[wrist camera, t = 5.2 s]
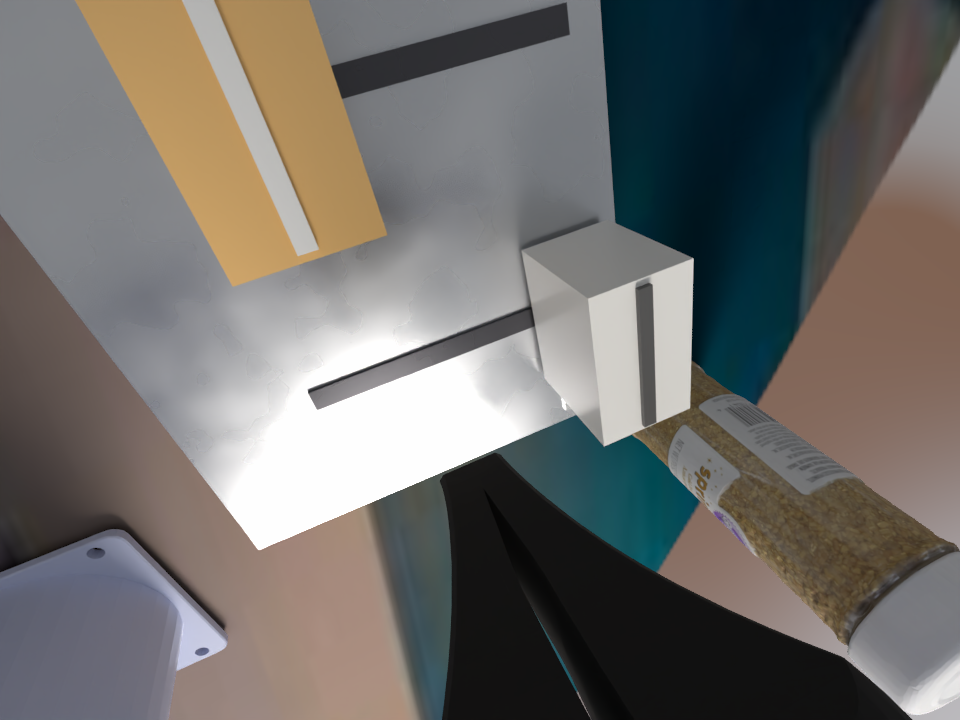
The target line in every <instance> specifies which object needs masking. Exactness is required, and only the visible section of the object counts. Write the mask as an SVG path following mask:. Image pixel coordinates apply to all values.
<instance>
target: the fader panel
mask: <svg viewBox="0 0 960 720" xmlns="http://www.w3.org/2000/svg"><path fill="white" fill-rule="evenodd" d="M309 2H310V5H311V8H312V11H313V14H314V17H315V20H316V23H317V26H318V29H319V32H320V35H321V38H322V41H323V44H324V47H325V50H326V53H327V56H328V59H329V62H330V65H331V68H332V71H333V74H334V77H335V80H336V83H337V86H338V89H339V92H340V95H341V98H342V101H343V104H344V107H345V110H346V113H347V115H348V118H349V121H350V124H351V127H352V130H353V133H354V136H355V139H356V142H357V145H358V148H359V151H360V154H361V157H362V160H363V163H364V166H365V169H366V172H367V175H368V178H369V181H370V184H371V187H372V190H373V193H374V196H375V199H376V202H377V205H378V208H379V211H380V214H381V217H382V220H383V223H384V226H385V229H386V232H387V235H386V236H383V237H380V238H377V239H374V240H371V241H368V242H365V243H362V244H360V245H357V246H354V247H351V248H348V249H345V250H342V251H339V252H336V253H333V254H330V255H327V256H324V257H321V258H318V259H315V260H312V261H309V262H306V263H303V264H300V265H297V266H294V267H291V268H288V269H285V270H282V271H279V272H276V273H273V274H270V275H267V276H264V277H261V278H258V279H255V280H252V281H249V282H246V283H243V284H240V285H237V286H234V287H233V286H232V284H231V283H230V281H229V279H228V277H227V275H226V274H225V272H224V270H223V268H222V266H221V265H220V263H219V261H218V259H217V257H216V255H215V254H214V252H213V250H212V248H211V246H210V245H209V243H208V241H207V239H206V237H205V235H204V234H203V232H202V230H201V228H200V226H199V225H198V223H197V221H196V219H195V217H194V216H193V214H192V212H191V210H190V208H189V206H188V205H187V203H186V201H185V199H184V197H183V196H182V194H181V192H180V190H179V188H178V186H177V185H176V183H175V181H174V179H173V177H172V176H171V174H170V172H169V170H168V168H167V166H166V165H165V163H164V161H163V159H162V157H161V156H160V154H159V152H158V150H157V148H156V147H155V145H154V143H153V141H152V139H151V137H150V136H149V134H148V132H147V130H146V128H145V127H144V125H143V123H142V121H141V119H140V117H139V116H138V114H137V112H136V110H135V108H134V107H133V105H132V103H131V101H130V99H129V98H128V96H127V94H126V92H125V90H124V88H123V87H122V85H121V83H120V81H119V79H118V78H117V76H116V74H115V72H114V70H113V68H112V67H111V65H110V63H109V61H108V59H107V58H106V56H105V54H104V52H103V50H102V48H101V47H100V45H99V43H98V41H97V39H96V38H95V36H94V34H93V32H92V30H91V29H90V27H89V25H88V23H87V21H86V19H85V18H84V16H83V14H82V12H81V10H80V9H79V7H78V5H77V3H76V1H75V0H0V215H1V216H2V217H3V219H4V220H5V221H6V222H7V224H8V225H9V226H10V228H11V229H12V230H13V232H14V233H15V234H16V235H17V237H18V238H19V239H20V241H21V242H22V243H23V244H24V246H25V247H26V248H27V250H28V251H29V252H30V254H31V255H32V256H33V257H34V259H35V260H36V261H37V263H38V264H39V265H40V267H41V268H42V269H43V270H44V272H45V273H46V274H47V276H48V277H49V278H50V279H51V281H52V282H53V283H54V285H55V286H56V287H57V289H58V290H59V291H60V292H61V294H62V295H63V296H64V298H65V299H66V300H67V302H68V303H69V304H70V305H71V307H72V308H73V309H74V311H75V312H76V313H77V314H78V316H79V317H80V318H81V320H82V321H83V322H84V324H85V325H86V326H87V327H88V329H89V330H90V331H91V333H92V334H93V335H94V337H95V338H96V339H97V340H98V342H99V343H100V344H101V346H102V347H103V348H104V350H105V351H106V352H107V353H108V355H109V356H110V357H111V359H112V360H113V361H114V362H115V364H116V365H117V366H118V368H119V369H120V370H121V372H122V373H123V374H124V375H125V377H126V378H127V379H128V381H129V382H130V383H131V385H132V386H133V387H134V388H135V390H136V391H137V392H138V394H139V395H140V396H141V397H142V399H143V400H144V401H145V403H146V404H147V405H148V407H149V408H150V409H151V410H152V412H153V413H154V414H155V416H156V417H157V418H158V420H159V421H160V422H161V423H162V425H163V426H164V427H165V429H166V430H167V431H168V432H169V434H170V435H171V436H172V438H173V439H174V440H175V442H176V443H177V444H178V445H179V447H180V448H181V449H182V451H183V452H184V453H185V455H186V456H187V457H188V458H189V460H190V461H191V462H192V464H193V465H194V466H195V468H196V469H197V470H198V471H199V473H200V474H201V475H202V477H203V478H204V479H205V480H206V482H207V483H208V484H209V486H210V487H211V488H212V490H213V491H214V492H215V493H216V495H217V496H218V497H219V499H220V500H221V501H222V503H223V504H224V505H225V506H226V508H227V509H228V510H229V512H230V513H231V514H232V515H233V517H234V518H235V519H236V521H237V522H238V523H239V525H240V526H241V527H242V528H243V530H244V531H245V532H246V534H247V535H248V536H249V538H250V539H251V540H252V541H253V543H254V544H255V545H256V547H257V548H258V549H259V550H260V549H262V548H264V547H267V546H269V545H271V544H274V543H276V542H278V541H281V540H283V539H285V538H288V537H290V536H293V535H295V534H297V533H300V532H302V531H304V530H307V529H309V528H311V527H314V526H316V525H318V524H321V523H323V522H325V521H328V520H330V519H332V518H335V517H337V516H339V515H342V514H344V513H346V512H349V511H351V510H354V509H356V508H358V507H361V506H363V505H365V504H368V503H370V502H372V501H375V500H377V499H379V498H382V497H384V496H386V495H389V494H391V493H393V492H396V491H398V490H400V489H403V488H405V487H408V486H410V485H412V484H415V483H417V482H419V481H422V480H424V479H426V478H429V477H431V476H433V475H436V474H438V473H440V472H443V471H445V470H447V469H450V468H452V467H454V466H457V465H459V464H461V463H464V462H466V461H469V460H471V459H473V458H476V457H478V456H480V455H483V454H485V453H487V452H490V451H492V450H494V449H497V448H499V447H501V446H504V445H506V444H508V443H511V442H513V441H515V440H518V439H520V438H522V437H525V436H527V435H530V434H532V433H534V432H537V431H539V430H541V429H544V428H546V427H548V426H551V425H553V424H555V423H558V422H560V421H562V420H565V419H567V418H569V417H572V416H574V415H576V414H575V412H574V411H573V410H572V409H571V408H570V407H569V406H568V404H567V403H566V402H565V401H564V400H563V399H562V398H561V396H560V395H559V394H558V393H557V392H556V391H555V390H554V388H553V387H552V386H551V385H550V384H549V383H548V382H547V380H546V379H545V377H544V371H543V366H542V360H541V355H540V349H539V344H538V338H537V333H536V327H535V322H534V316H533V311H532V305H531V300H530V294H529V289H528V283H527V278H526V273H525V267H524V262H523V256H522V251H521V250H524V249H527V248H529V247H532V246H535V245H538V244H541V243H543V242H546V241H549V240H552V239H555V238H557V237H560V236H563V235H566V234H569V233H571V232H574V231H577V230H580V229H583V228H585V227H588V226H591V225H594V224H597V223H599V222H602V221H605V220H609V221H611V222H614V223H615V212H614V198H613V183H612V169H611V154H610V139H609V125H608V110H607V95H606V81H605V66H604V52H603V37H602V22H601V8H600V0H309Z"/></svg>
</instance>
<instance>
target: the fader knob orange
mask: <svg viewBox="0 0 960 720" xmlns="http://www.w3.org/2000/svg"><path fill="white" fill-rule="evenodd" d="M75 1H76V3H77V5H78V7H79V9H80V10H81V12H82V14H83V16H84V18H85V19H86V21H87V23H88V25H89V27H90V29H91V30H92V32H93V34H94V36H95V38H96V39H97V41H98V43H99V45H100V47H101V48H102V50H103V52H104V54H105V56H106V58H107V59H108V61H109V63H110V65H111V67H112V68H113V70H114V72H115V74H116V76H117V78H118V79H119V81H120V83H121V85H122V87H123V88H124V90H125V92H126V94H127V96H128V98H129V99H130V101H131V103H132V105H133V107H134V108H135V110H136V112H137V114H138V116H139V117H140V119H141V121H142V123H143V125H144V127H145V128H146V130H147V132H148V134H149V136H150V137H151V139H152V141H153V143H154V145H155V147H156V148H157V150H158V152H159V154H160V156H161V157H162V159H163V161H164V163H165V165H166V166H167V168H168V170H169V172H170V174H171V176H172V177H173V179H174V181H175V183H176V185H177V186H178V188H179V190H180V192H181V194H182V196H183V197H184V199H185V201H186V203H187V205H188V206H189V208H190V210H191V212H192V214H193V216H194V217H195V219H196V221H197V223H198V225H199V226H200V228H201V230H202V232H203V234H204V235H205V237H206V239H207V241H208V243H209V245H210V246H211V248H212V250H213V252H214V254H215V255H216V257H217V259H218V261H219V263H220V265H221V266H222V268H223V270H224V272H225V274H226V275H227V277H228V279H229V281H230V283H231V284H232V286H233V287H234V286H237V285H240V284H243V283H246V282H249V281H252V280H255V279H258V278H261V277H264V276H267V275H270V274H273V273H276V272H279V271H282V270H285V269H288V268H291V267H294V266H297V265H300V264H303V263H306V262H309V261H312V260H315V259H318V258H321V257H324V256H327V255H330V254H333V253H336V252H339V251H342V250H345V249H348V248H351V247H354V246H357V245H360V244H362V243H365V242H368V241H371V240H374V239H377V238H380V237H383V236H386V235H387V232H386V229H385V226H384V223H383V220H382V217H381V214H380V211H379V208H378V205H377V202H376V199H375V196H374V193H373V190H372V187H371V184H370V181H369V178H368V175H367V172H366V169H365V166H364V163H363V160H362V157H361V154H360V151H359V148H358V145H357V142H356V139H355V136H354V133H353V130H352V127H351V124H350V121H349V118H348V115H347V113H346V110H345V107H344V104H343V101H342V98H341V95H340V92H339V89H338V86H337V83H336V80H335V77H334V74H333V71H332V68H331V65H330V62H329V59H328V56H327V53H326V50H325V47H324V44H323V41H322V38H321V35H320V32H319V29H318V26H317V23H316V20H315V17H314V14H313V11H312V8H311V5H310V2H309V0H75Z"/></svg>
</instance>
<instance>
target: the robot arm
mask: <svg viewBox="0 0 960 720" xmlns="http://www.w3.org/2000/svg"><path fill="white" fill-rule="evenodd" d="M440 483H441V485H442V488H443V492H444V496H445V501H446V506H447V512H448V520H449V528H450V543H451V559H452V614H451V635H450V649H449V662H448V672H447V682H446V691H445V700H444V709H443V717H442V720H912V719H911V718H910V717H909V716H908V715H907V714H906V713H905V712H904V711H903V710H902V709H901V708H900V707H899V706H898V705H897V704H896V703H895V702H894V701H893V700H892V699H891V698H890V697H889V696H888V695H887V694H886V693H885V692H884V691H883V690H881V689H880V688H879V687H878V686H877V685H876V684H874V683H873V682H872V681H871V680H870V679H869V678H867V677H866V676H865V675H864V674H863V673H861V672H860V671H859V670H858V669H857V668H856V667H854V666H853V665H852V664H851V663H849V662H848V661H847V660H846V659H845V658H843V657H841V656H838V655H836V654H833V653H831V652H828V651H826V650H823V649H821V648H818V647H815V646H812V645H810V644H808V643H805V642H802V641H800V640H797V639H795V638H793V637H790V636H788V635H785V634H783V633H781V632H778V631H776V630H773V629H771V628H768V627H766V626H764V625H762V624H759V623H757V622H755V621H753V620H750V619H748V618H746V617H743V616H741V615H739V614H737V613H735V612H732V611H730V610H728V609H726V608H724V607H722V606H720V605H718V604H716V603H714V602H712V601H710V600H708V599H706V598H704V597H702V596H700V595H698V594H696V593H694V592H692V591H690V590H688V589H686V588H684V587H682V586H680V585H678V584H676V583H674V582H672V581H670V580H668V579H667V578H665V577H663V576H661V575H660V574H658V573H656V572H654V571H653V570H651V569H649V568H647V567H645V566H644V565H642V564H640V563H639V562H637V561H635V560H634V559H632V558H630V557H629V556H627V555H626V554H624V553H622V552H621V551H619V550H618V549H616V548H614V547H613V546H611V545H610V544H608V543H607V542H605V541H604V540H602V539H601V538H599V537H598V536H597V535H595V534H594V533H592V532H591V531H589V530H588V529H586V528H585V527H584V526H582V525H581V524H579V523H578V522H577V521H575V520H574V519H573V518H571V517H570V516H569V515H567V514H566V513H565V512H564V511H562V510H561V509H560V508H558V507H557V506H556V505H555V504H553V503H552V502H551V501H550V500H548V499H547V498H546V497H545V496H543V495H542V494H541V493H540V492H539V491H537V490H536V489H535V488H534V487H533V486H532V485H531V484H530V483H528V482H527V481H526V480H525V479H524V478H523V477H522V476H521V475H520V474H519V473H518V472H517V471H515V470H514V469H513V468H512V467H511V466H510V465H509V463H508V462H507V461H506V460H505V459H504V458H503V457H502V456H501V455H500V454H497V453H493V454H491V455H489V456H486V457H484V458H482V459H479V460H477V461H475V462H472V463H470V464H468V465H465V466H463V467H461V468H459V469H456V470H454V471H452V472H449V473H447V474H445V475H443V477H442V478H441V480H440ZM93 548H101V549H102V550H95V549H93ZM531 606H532V607H531ZM532 608H533V609H532ZM533 610H534V611H535V613H536V615H537V617H538V618H539V620H540V622H541V624H542V625H543V627H544V629H545V630H546V632H547V634H548V636H549V637H550V639H551V641H552V643H553V644H554V646H555V648H556V649H557V651H558V653H559V655H560V656H561V658H562V660H563V662H564V664H565V666H566V668H567V670H568V672H569V673H570V675H571V677H572V679H573V682H574V684H575V686H576V688H577V690H578V692H579V694H580V696H581V698H582V701H583V702H584V705H585V707H586V709H587V711H588V713H589V715H590V717H589V715H588V713H587V712H586V710H585V708H584V706H583V705H582V702H581V700H580V699H579V697H578V695H577V693H576V691H575V689H574V687H573V685H572V684H571V682H570V680H569V678H568V676H567V674H566V672H565V670H564V669H563V667H562V665H561V663H560V661H559V659H558V657H557V655H556V653H555V651H554V649H553V647H552V646H551V644H550V642H549V640H548V638H547V636H546V634H545V632H544V630H543V628H542V626H541V624H540V623H539V621H538V619H537V617H536V615H535V613H534V611H533ZM227 641H228V635H227V633H226V632H225V631H224V630H223V629H222V628H221V627H220V626H219V625H218V624H217V623H216V622H215V621H214V620H213V619H212V618H211V617H210V616H209V615H208V614H207V613H206V612H205V611H204V610H203V609H202V608H201V607H200V606H199V605H198V604H197V603H196V602H195V601H194V600H193V599H192V598H191V597H190V596H189V595H188V594H187V593H186V592H185V591H184V590H183V589H182V588H181V586H180V585H179V584H178V583H177V582H176V581H175V580H174V579H173V578H172V577H171V576H170V575H169V574H168V573H167V572H166V571H165V570H164V569H163V568H162V567H161V566H160V565H159V564H158V563H157V562H156V561H155V560H154V559H153V558H152V557H151V556H150V555H149V554H148V553H147V552H146V551H145V550H144V549H143V548H142V547H141V546H140V545H139V544H138V543H137V542H136V541H135V540H134V539H133V538H132V537H131V536H130V535H129V534H128V533H127V532H125V531H123V530H119V529H110V530H106V531H103V532H101V533H98V534H96V535H93V536H91V537H88V538H85V539H83V540H80V541H78V542H75V543H73V544H70V545H68V546H65V547H63V548H60V549H58V550H55V551H53V552H50V553H48V554H45V555H43V556H40V557H38V558H35V559H33V560H30V561H28V562H25V563H23V564H20V565H18V566H15V567H13V568H10V569H8V570H5V571H3V572H0V720H168V719H169V713H170V707H171V701H172V695H173V689H174V683H175V677H176V671H178V670H180V669H182V668H184V667H186V666H189V665H191V664H193V663H195V662H197V661H200V660H202V659H204V658H206V657H208V656H211V655H213V654H215V653H217V652H219V651H221V650H223V649H224V648H225V647H226V646H227ZM590 718H591V719H590Z"/></svg>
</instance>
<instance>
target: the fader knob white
mask: <svg viewBox="0 0 960 720" xmlns="http://www.w3.org/2000/svg"><path fill="white" fill-rule="evenodd" d="M521 251H522V256H523V262H524V267H525V273H526V278H527V283H528V289H529V294H530V300H531V305H532V311H533V316H534V322H535V327H536V333H537V338H538V344H539V349H540V355H541V360H542V366H543V371H544V377H545V379H546V380H547V382H548V383H549V384H550V385H551V386H552V387H553V388H554V390H555V391H556V392H557V393H558V394H559V395H560V396H561V398H562V399H563V400H564V401H565V402H566V403H567V404H568V406H569V407H570V408H571V409H572V410H573V411H574V412H575V414H576V415H577V416H578V417H579V418H580V419H581V420H582V422H583V423H584V424H585V425H586V426H587V427H588V428H589V430H590V431H591V432H592V433H593V434H594V435H595V436H596V438H597V439H598V440H599V441H600V442H601V443H602V444H603V446H606V445H608V444H611V443H613V442H615V441H617V440H620V439H622V438H624V437H626V436H629V435H631V434H633V433H635V432H638V431H640V430H642V429H645V428H647V427H649V426H651V425H654V424H656V423H658V422H660V421H663V420H665V419H667V418H669V417H672V416H674V415H676V414H678V413H681V412H683V411H685V410H687V409H690V392H691V349H692V306H693V263H694V258H692V257H690V256H687V255H685V254H683V253H681V252H678V251H676V250H674V249H672V248H669V247H667V246H665V245H663V244H661V243H658V242H656V241H654V240H652V239H649V238H647V237H645V236H643V235H640V234H638V233H636V232H634V231H631V230H629V229H627V228H625V227H623V226H620V225H618V224H616V223H614V222H611V221H609V220H605V221H602V222H599V223H597V224H594V225H591V226H588V227H585V228H583V229H580V230H577V231H574V232H571V233H569V234H566V235H563V236H560V237H557V238H555V239H552V240H549V241H546V242H543V243H541V244H538V245H535V246H532V247H529V248H527V249H524V250H521Z"/></svg>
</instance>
